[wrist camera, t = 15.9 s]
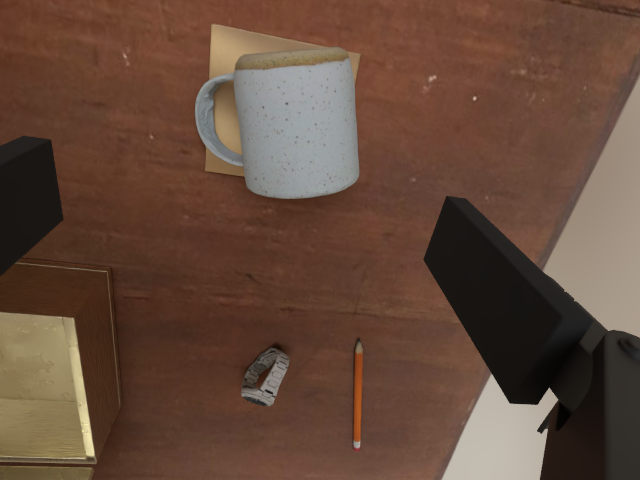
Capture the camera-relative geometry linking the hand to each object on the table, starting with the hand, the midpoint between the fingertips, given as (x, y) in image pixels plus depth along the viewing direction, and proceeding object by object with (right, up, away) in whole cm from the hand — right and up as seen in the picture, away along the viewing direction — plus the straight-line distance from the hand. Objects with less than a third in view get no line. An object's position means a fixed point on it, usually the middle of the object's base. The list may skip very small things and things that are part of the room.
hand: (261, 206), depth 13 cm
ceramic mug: (-1, +8, +15) cm, 17 cm away
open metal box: (-27, -10, +23) cm, 37 cm away
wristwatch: (-4, -14, +27) cm, 31 cm away
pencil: (+6, -19, +31) cm, 37 cm away
